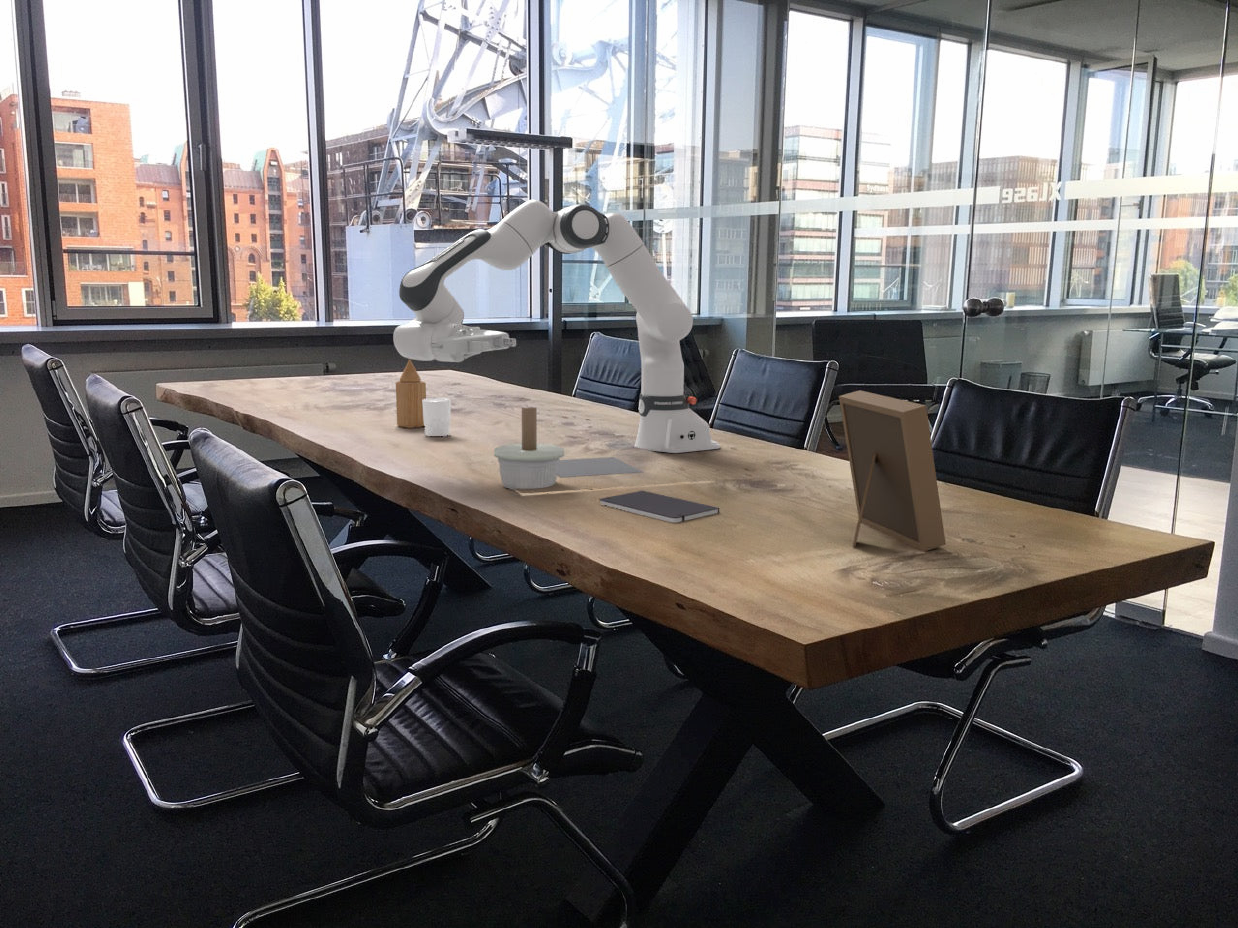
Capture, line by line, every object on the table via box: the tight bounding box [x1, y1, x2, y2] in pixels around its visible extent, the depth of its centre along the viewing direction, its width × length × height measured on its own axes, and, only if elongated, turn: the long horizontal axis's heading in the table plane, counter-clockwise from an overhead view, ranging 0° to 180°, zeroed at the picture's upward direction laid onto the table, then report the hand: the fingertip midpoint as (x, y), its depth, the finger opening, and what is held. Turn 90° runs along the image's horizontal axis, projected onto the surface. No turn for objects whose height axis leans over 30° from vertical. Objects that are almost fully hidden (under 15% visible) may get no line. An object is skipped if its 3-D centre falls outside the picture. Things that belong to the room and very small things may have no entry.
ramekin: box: [497, 458, 560, 491], centre depth 225 cm, size 13×13×7 cm
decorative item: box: [395, 358, 427, 429], centre depth 305 cm, size 7×7×20 cm
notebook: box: [599, 490, 720, 524], centre depth 206 cm, size 13×2×21 cm
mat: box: [556, 456, 644, 478], centre depth 245 cm, size 20×20×1 cm
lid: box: [493, 406, 565, 461], centre depth 224 cm, size 15×15×10 cm
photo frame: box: [838, 389, 947, 552], centre depth 184 cm, size 15×22×25 cm
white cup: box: [422, 397, 452, 437], centre depth 291 cm, size 8×8×10 cm
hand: (502, 344), depth 235 cm, fingers open, 8 cm apart
